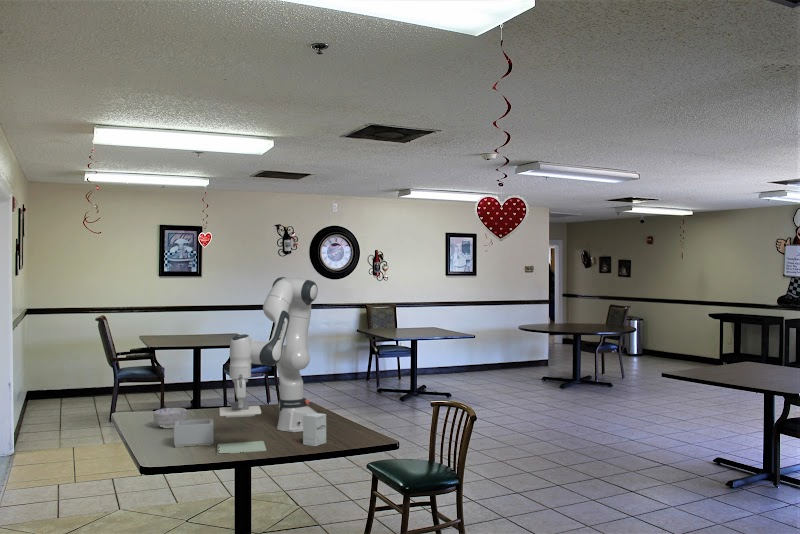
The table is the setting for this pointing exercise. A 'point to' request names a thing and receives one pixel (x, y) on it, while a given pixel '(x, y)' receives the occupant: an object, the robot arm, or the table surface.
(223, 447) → the mat
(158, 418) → the paper bowls
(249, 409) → the lid
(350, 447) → the table surface
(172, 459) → the table surface
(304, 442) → the supplement box
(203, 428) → the storage box
